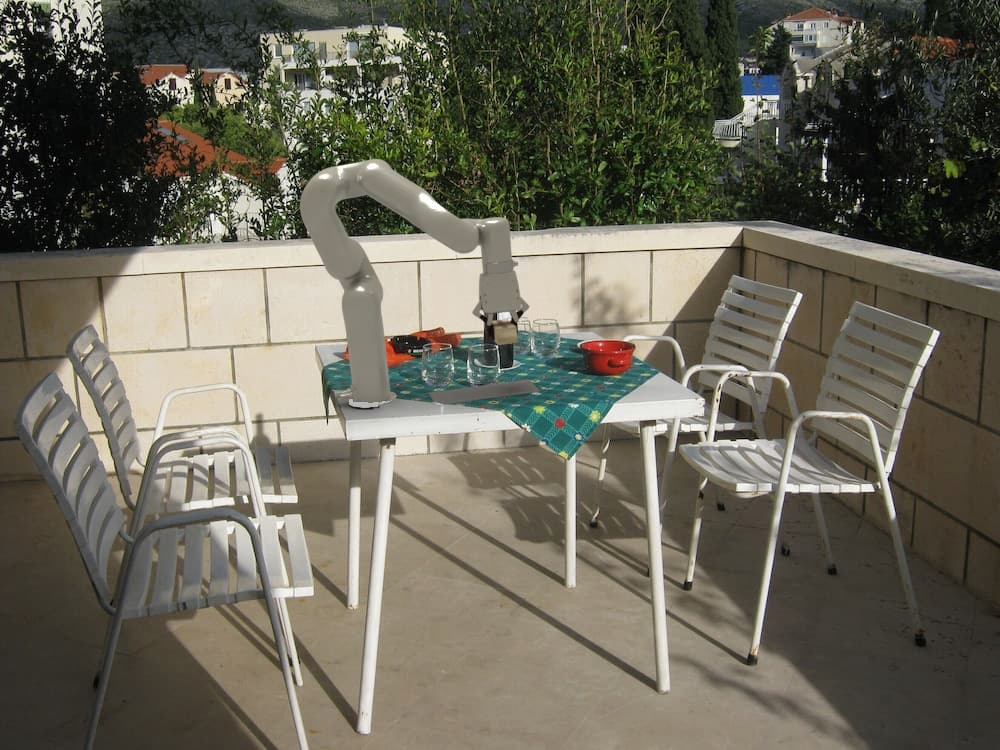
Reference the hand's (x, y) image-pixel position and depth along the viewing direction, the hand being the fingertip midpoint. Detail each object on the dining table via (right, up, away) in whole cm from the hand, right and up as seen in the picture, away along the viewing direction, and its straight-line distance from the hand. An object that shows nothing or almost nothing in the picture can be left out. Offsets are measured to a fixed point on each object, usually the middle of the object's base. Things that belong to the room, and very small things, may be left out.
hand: (503, 337), depth 274 cm
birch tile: (0, -1, 0) cm, 1 cm away
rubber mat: (-5, -15, +3) cm, 16 cm away
